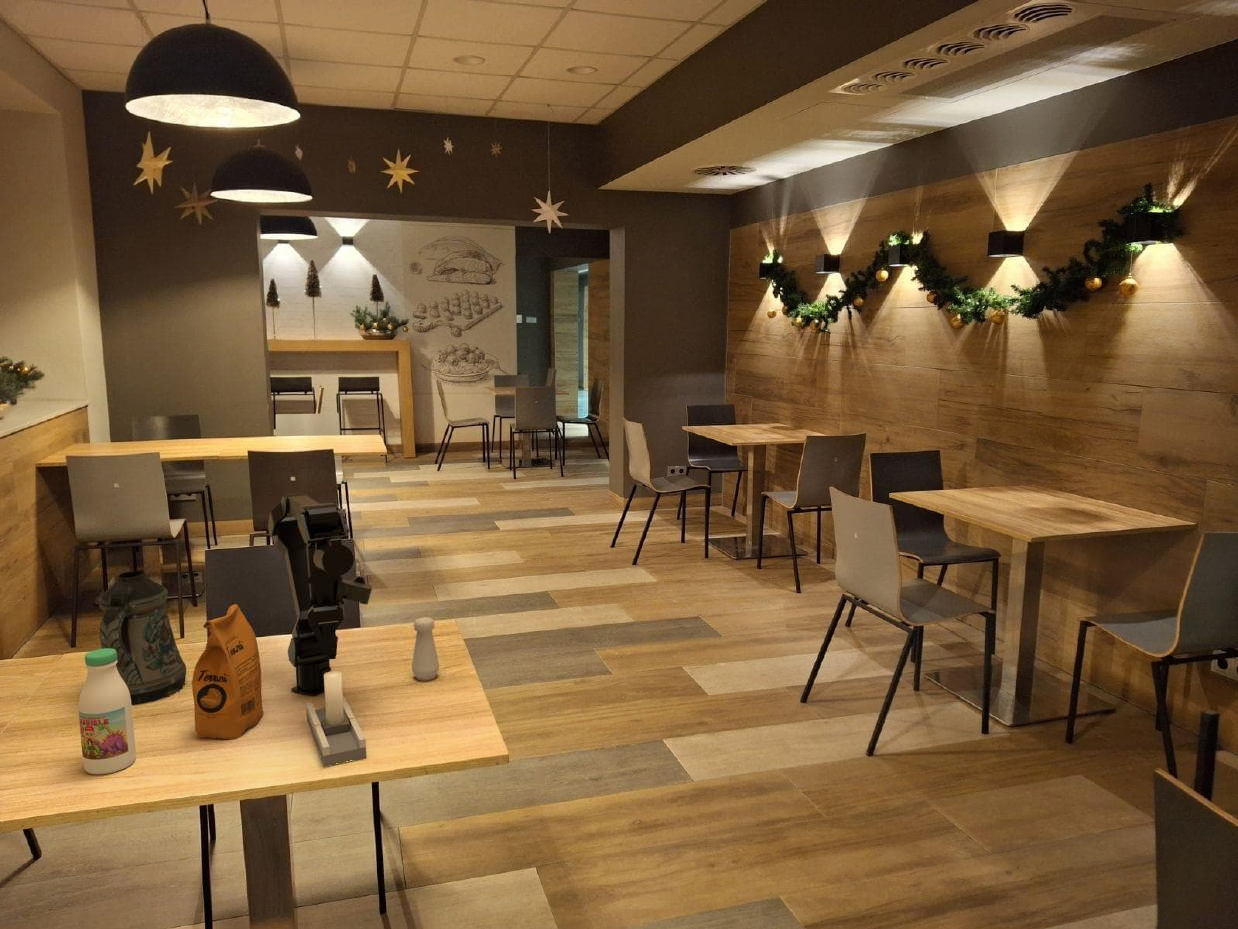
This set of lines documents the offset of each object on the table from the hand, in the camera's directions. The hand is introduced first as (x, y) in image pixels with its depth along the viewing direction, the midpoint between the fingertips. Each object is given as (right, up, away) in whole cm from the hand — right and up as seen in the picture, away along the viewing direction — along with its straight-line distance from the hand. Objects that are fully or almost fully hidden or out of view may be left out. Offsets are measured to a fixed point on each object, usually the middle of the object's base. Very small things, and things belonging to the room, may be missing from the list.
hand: (330, 649), depth 165 cm
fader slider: (+4, -12, -10) cm, 16 cm away
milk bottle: (-31, -16, -19) cm, 40 cm away
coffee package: (-17, -14, -4) cm, 23 cm away
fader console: (+4, -14, -9) cm, 17 cm away
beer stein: (-42, -12, +11) cm, 45 cm away
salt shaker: (+14, -10, +19) cm, 26 cm away
